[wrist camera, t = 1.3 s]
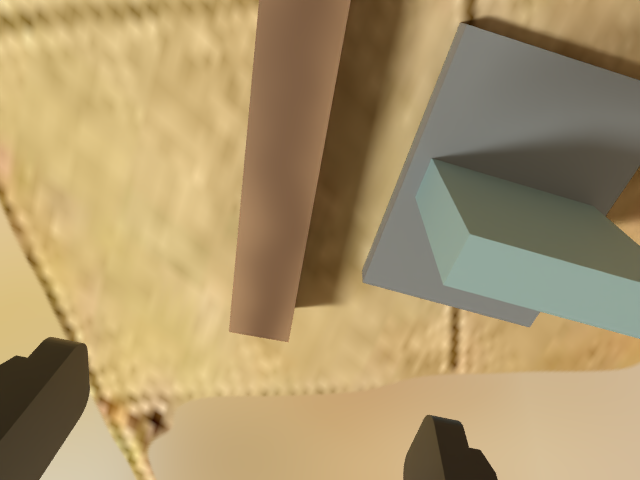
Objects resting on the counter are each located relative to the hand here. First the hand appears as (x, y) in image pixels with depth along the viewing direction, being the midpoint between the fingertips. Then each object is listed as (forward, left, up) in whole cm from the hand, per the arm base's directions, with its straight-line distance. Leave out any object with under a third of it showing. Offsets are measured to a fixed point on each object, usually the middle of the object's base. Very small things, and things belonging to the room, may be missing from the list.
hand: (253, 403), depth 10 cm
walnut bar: (-2, +1, -19) cm, 19 cm away
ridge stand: (+11, +1, -19) cm, 22 cm away
